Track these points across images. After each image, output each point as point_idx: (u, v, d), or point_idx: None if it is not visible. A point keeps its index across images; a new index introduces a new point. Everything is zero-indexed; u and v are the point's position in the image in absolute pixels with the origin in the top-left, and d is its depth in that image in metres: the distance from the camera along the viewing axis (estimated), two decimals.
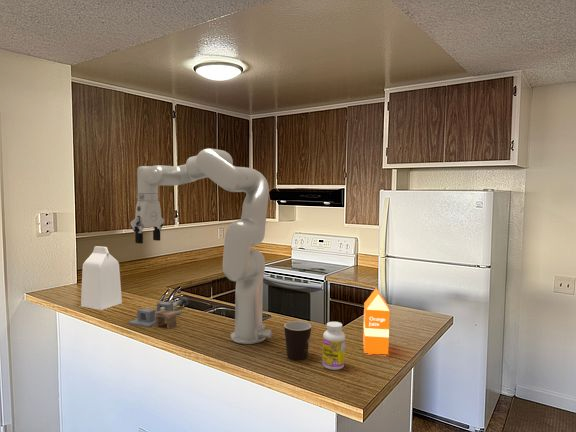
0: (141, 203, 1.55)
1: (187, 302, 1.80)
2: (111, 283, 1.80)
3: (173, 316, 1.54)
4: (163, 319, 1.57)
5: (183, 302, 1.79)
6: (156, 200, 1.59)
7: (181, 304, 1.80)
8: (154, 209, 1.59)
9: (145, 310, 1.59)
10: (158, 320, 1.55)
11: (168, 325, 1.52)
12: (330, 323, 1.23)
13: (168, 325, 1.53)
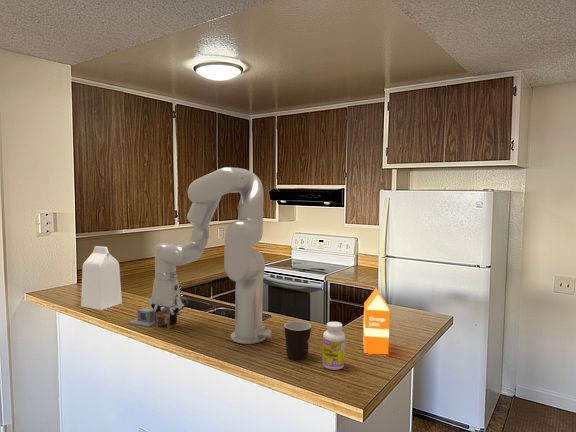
0: (177, 281, 1.53)
1: (187, 302, 1.80)
2: (111, 283, 1.80)
3: None
4: (163, 319, 1.57)
5: (183, 302, 1.79)
6: None
7: None
8: None
9: (145, 310, 1.59)
10: (158, 320, 1.55)
11: (168, 325, 1.52)
12: (330, 323, 1.23)
13: (168, 325, 1.53)
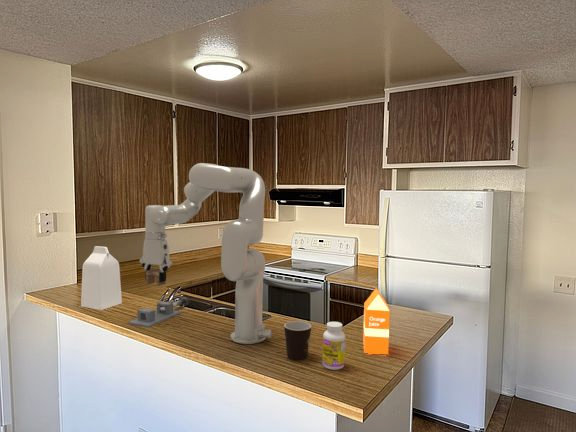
0: (166, 241, 1.62)
1: (187, 302, 1.80)
2: (111, 283, 1.80)
3: None
4: (153, 277, 1.66)
5: (183, 302, 1.79)
6: None
7: (181, 304, 1.80)
8: None
9: (145, 310, 1.59)
10: (148, 278, 1.63)
11: (158, 282, 1.61)
12: (331, 323, 1.23)
13: (157, 282, 1.61)
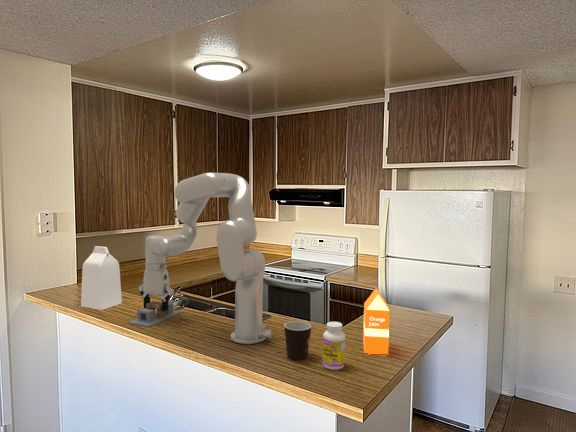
0: (166, 271, 1.63)
1: (187, 302, 1.80)
2: (111, 283, 1.80)
3: None
4: (153, 309, 1.67)
5: (183, 302, 1.79)
6: None
7: (181, 304, 1.80)
8: None
9: (145, 310, 1.59)
10: None
11: (158, 315, 1.62)
12: (331, 323, 1.23)
13: (158, 315, 1.62)
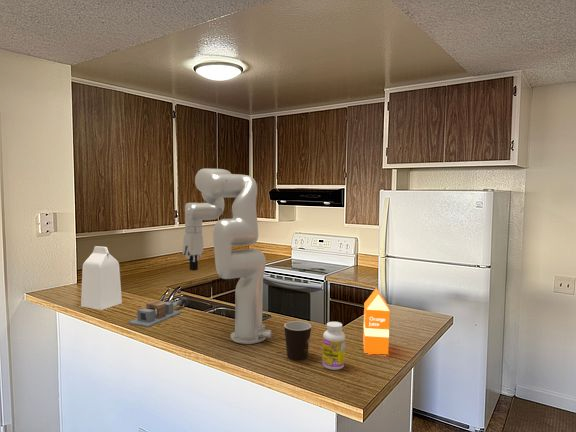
0: None
1: (187, 302, 1.80)
2: (111, 283, 1.80)
3: (163, 307, 1.64)
4: (153, 309, 1.67)
5: (183, 302, 1.79)
6: None
7: (181, 304, 1.80)
8: None
9: (145, 310, 1.59)
10: None
11: (158, 315, 1.62)
12: (330, 323, 1.23)
13: (158, 315, 1.62)
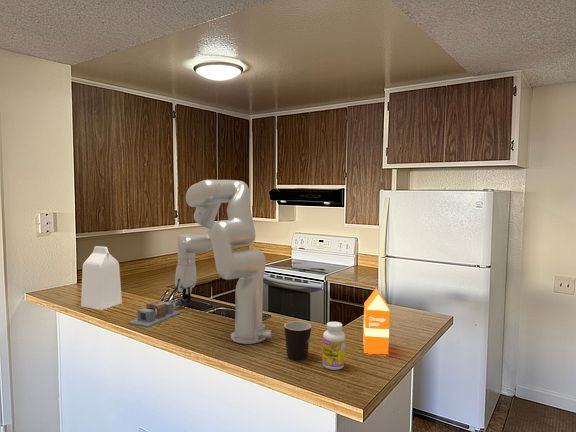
0: None
1: (186, 303, 1.79)
2: (111, 283, 1.80)
3: (163, 307, 1.64)
4: (153, 309, 1.67)
5: (182, 303, 1.78)
6: None
7: None
8: None
9: (145, 310, 1.59)
10: None
11: (158, 315, 1.62)
12: (330, 323, 1.23)
13: (158, 315, 1.62)
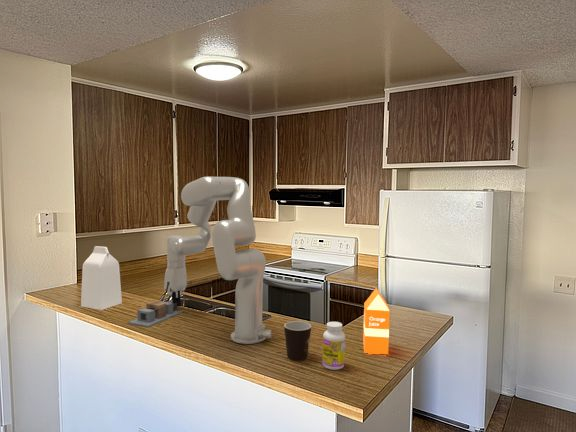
0: None
1: (175, 307, 1.73)
2: (111, 283, 1.80)
3: (163, 307, 1.64)
4: (153, 309, 1.67)
5: None
6: None
7: None
8: None
9: (145, 310, 1.59)
10: None
11: (158, 315, 1.62)
12: (330, 323, 1.23)
13: (158, 315, 1.62)
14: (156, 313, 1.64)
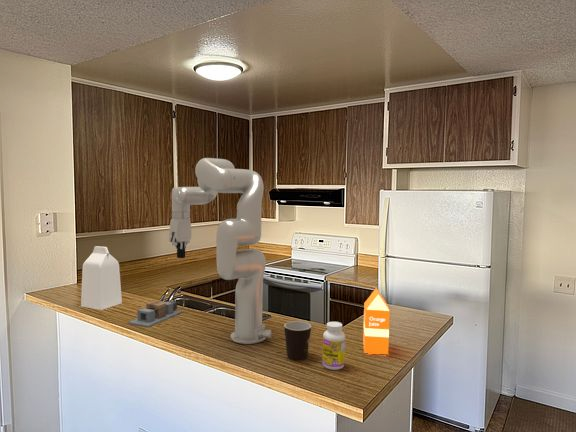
0: None
1: (175, 307, 1.73)
2: (111, 283, 1.80)
3: (163, 307, 1.64)
4: (153, 309, 1.67)
5: None
6: None
7: None
8: None
9: (145, 310, 1.59)
10: None
11: (158, 315, 1.62)
12: (330, 323, 1.23)
13: (158, 315, 1.62)
14: (156, 313, 1.64)
